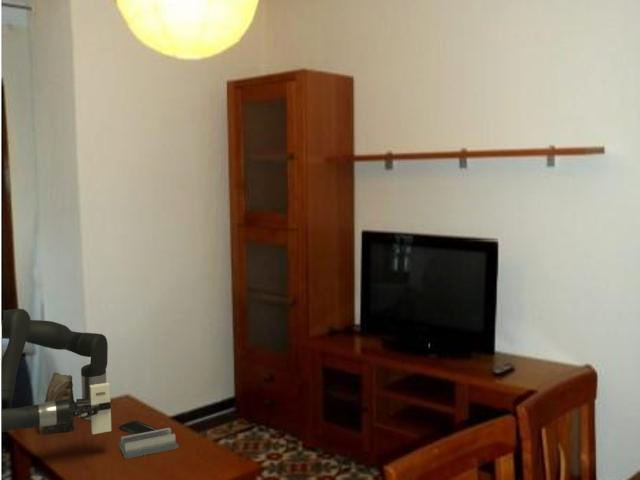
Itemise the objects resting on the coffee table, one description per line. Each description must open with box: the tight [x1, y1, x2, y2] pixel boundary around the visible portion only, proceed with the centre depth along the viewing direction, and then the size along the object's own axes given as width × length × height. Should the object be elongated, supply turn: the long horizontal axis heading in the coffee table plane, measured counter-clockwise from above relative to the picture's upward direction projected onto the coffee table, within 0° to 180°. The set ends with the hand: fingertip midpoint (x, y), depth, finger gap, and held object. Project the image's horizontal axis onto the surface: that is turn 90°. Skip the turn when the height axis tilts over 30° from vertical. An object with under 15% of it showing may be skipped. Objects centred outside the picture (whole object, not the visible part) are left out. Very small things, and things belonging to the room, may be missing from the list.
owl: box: [38, 372, 76, 436], centre depth 234 cm, size 13×13×20 cm
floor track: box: [118, 427, 180, 460], centre depth 217 cm, size 12×18×4 cm, turn 118°
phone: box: [118, 420, 159, 435], centre depth 232 cm, size 8×1×15 cm
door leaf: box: [90, 382, 112, 435], centre depth 208 cm, size 3×6×16 cm, turn 118°
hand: (109, 403), depth 210 cm, fingers closed on door leaf, 2 cm apart
